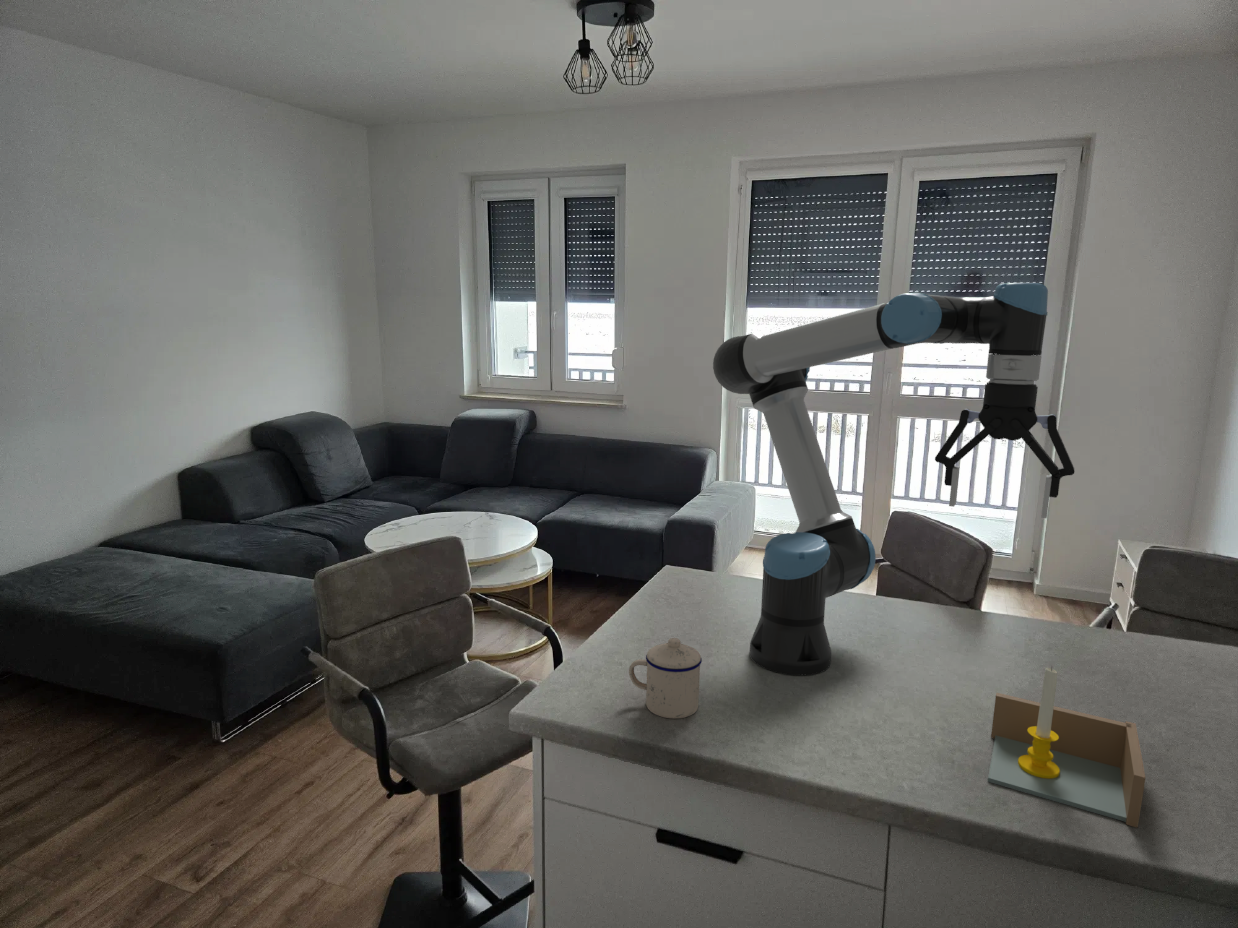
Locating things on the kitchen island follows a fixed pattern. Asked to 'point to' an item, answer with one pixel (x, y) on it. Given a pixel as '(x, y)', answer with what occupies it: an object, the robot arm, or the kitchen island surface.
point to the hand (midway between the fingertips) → (996, 510)
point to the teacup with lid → (670, 679)
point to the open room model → (1071, 759)
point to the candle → (1043, 734)
